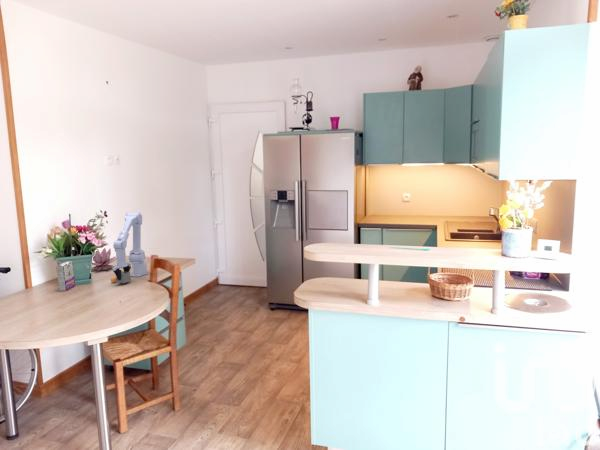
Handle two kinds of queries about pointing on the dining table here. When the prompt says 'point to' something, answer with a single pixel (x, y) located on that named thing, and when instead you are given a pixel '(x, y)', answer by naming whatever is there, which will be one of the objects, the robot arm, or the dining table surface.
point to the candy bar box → (65, 276)
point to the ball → (113, 279)
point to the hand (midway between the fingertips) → (122, 278)
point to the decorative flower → (103, 260)
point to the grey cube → (124, 277)
